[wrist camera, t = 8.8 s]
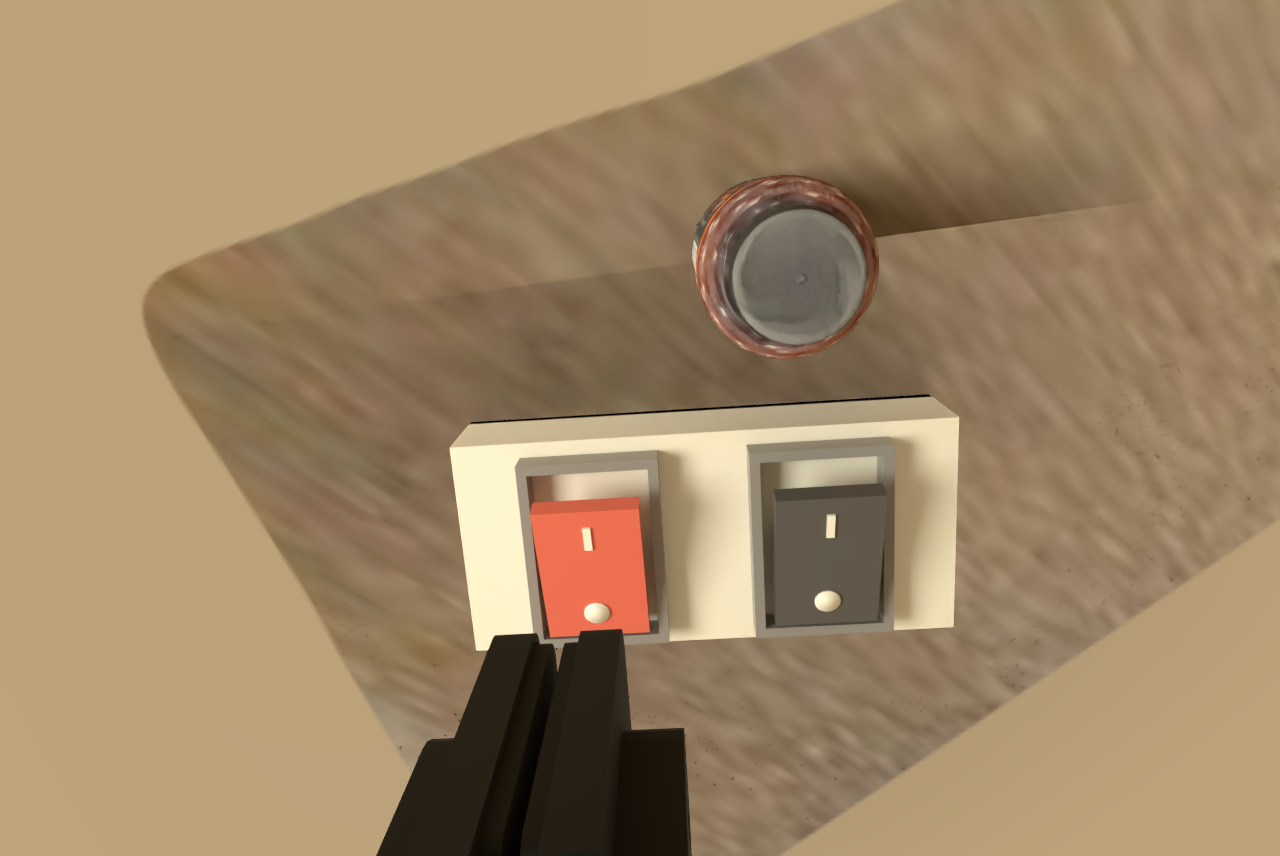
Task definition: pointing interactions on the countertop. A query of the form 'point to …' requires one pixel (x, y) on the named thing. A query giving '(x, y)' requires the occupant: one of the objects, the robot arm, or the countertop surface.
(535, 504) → the red rocker
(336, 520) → the countertop surface
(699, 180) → the countertop surface
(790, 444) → the rocker switch panel
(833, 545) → the black rocker
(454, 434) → the countertop surface
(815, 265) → the supplement bottle
